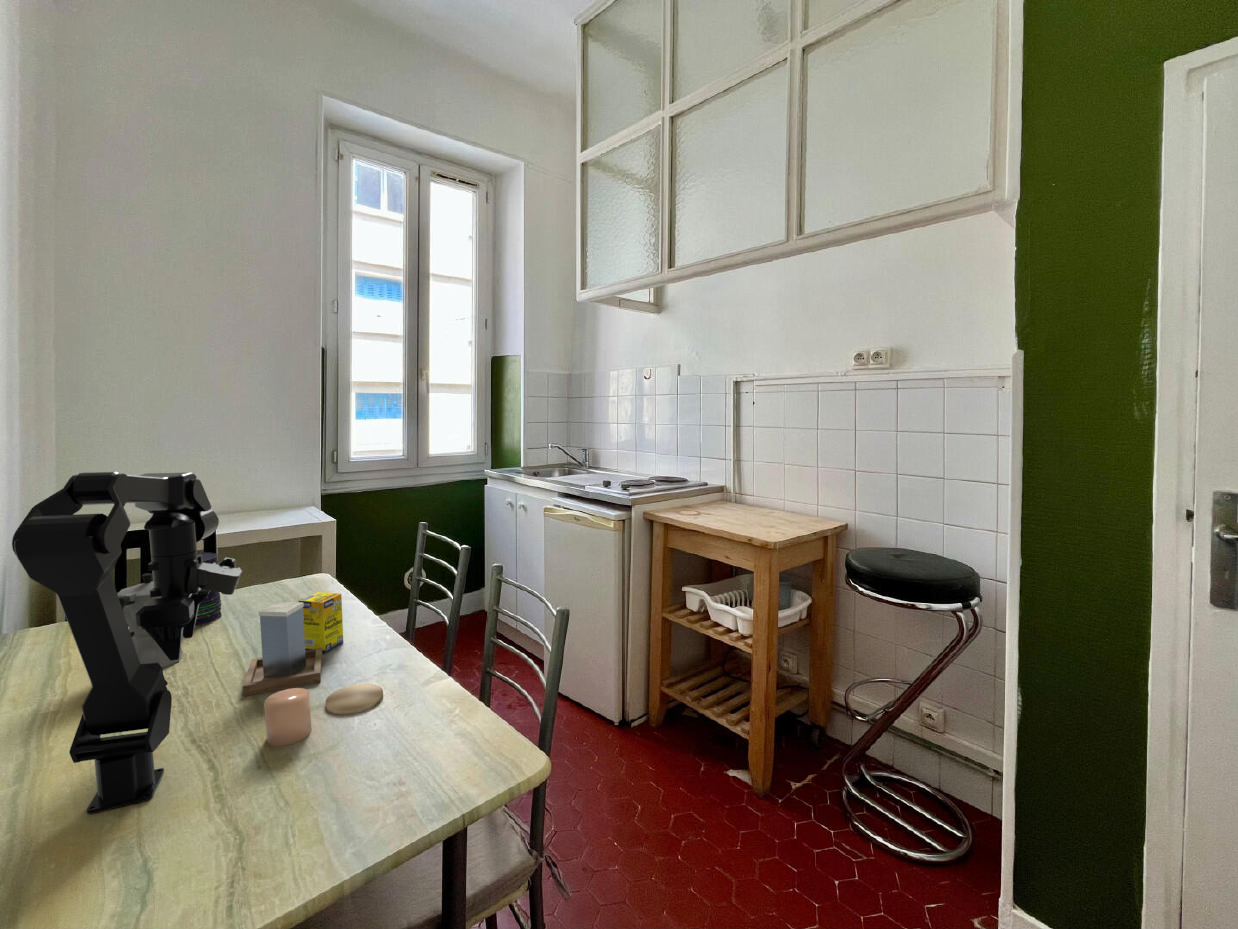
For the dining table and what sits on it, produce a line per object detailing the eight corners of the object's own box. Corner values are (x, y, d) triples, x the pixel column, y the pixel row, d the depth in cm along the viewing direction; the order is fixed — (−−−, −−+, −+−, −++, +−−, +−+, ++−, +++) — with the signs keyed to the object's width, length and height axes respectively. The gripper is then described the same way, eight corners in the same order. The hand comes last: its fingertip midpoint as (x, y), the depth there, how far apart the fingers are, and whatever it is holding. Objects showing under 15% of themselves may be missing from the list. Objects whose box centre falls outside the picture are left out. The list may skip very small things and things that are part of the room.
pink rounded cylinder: (314, 737, 88) (311, 700, 88) (268, 751, 85) (265, 712, 84) (308, 719, 93) (306, 684, 93) (265, 731, 90) (262, 695, 89)
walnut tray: (320, 682, 106) (320, 672, 106) (243, 696, 101) (242, 686, 100) (322, 656, 117) (321, 647, 116) (252, 668, 111) (251, 659, 111)
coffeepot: (152, 649, 120) (145, 564, 118) (200, 647, 120) (194, 563, 119) (92, 685, 104) (83, 588, 102) (148, 683, 105) (140, 587, 103)
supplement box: (325, 654, 118) (322, 602, 116) (299, 651, 119) (296, 600, 118) (344, 642, 123) (342, 593, 122) (320, 640, 125) (317, 591, 123)
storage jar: (230, 617, 138) (226, 556, 136) (181, 631, 129) (176, 565, 128) (210, 609, 143) (206, 550, 141) (163, 622, 135) (157, 559, 133)
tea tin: (290, 678, 106) (286, 612, 104) (262, 678, 106) (258, 611, 105) (306, 665, 111) (303, 602, 110) (280, 665, 111) (276, 601, 110)
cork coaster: (385, 707, 97) (384, 702, 97) (325, 719, 93) (325, 714, 93) (381, 683, 105) (381, 679, 105) (326, 694, 101) (325, 690, 101)
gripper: (225, 561, 85) (232, 662, 87) (243, 535, 102) (249, 620, 104) (130, 570, 81) (139, 677, 82) (165, 541, 97) (173, 630, 99)
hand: (182, 648), depth 92 cm, fingers open, 9 cm apart
